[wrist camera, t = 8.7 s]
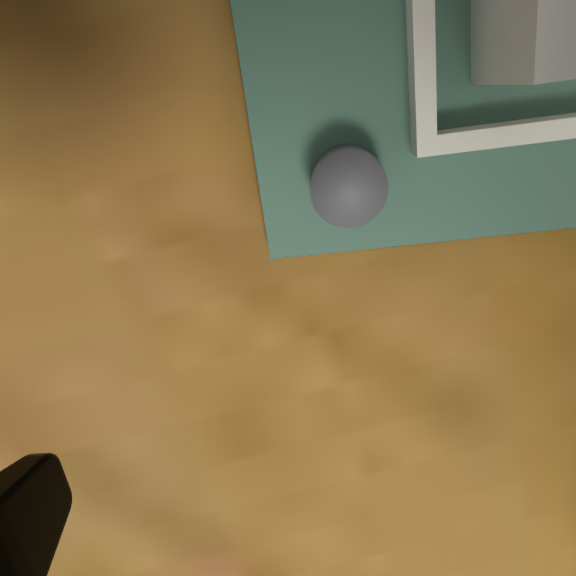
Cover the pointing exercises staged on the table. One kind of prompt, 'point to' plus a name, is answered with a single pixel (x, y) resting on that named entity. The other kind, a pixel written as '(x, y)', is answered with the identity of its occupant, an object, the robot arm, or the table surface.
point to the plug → (522, 42)
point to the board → (394, 129)
